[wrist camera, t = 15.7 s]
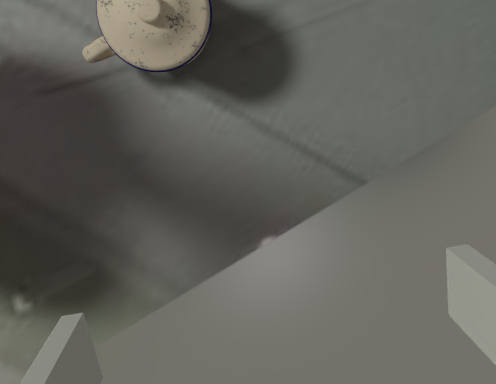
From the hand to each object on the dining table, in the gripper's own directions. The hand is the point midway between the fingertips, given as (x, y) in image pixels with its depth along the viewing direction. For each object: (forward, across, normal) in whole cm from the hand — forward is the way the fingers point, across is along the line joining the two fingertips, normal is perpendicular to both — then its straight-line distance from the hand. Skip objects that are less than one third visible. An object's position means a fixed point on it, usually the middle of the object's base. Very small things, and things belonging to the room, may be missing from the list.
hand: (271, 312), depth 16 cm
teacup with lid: (+33, -6, +13) cm, 36 cm away
